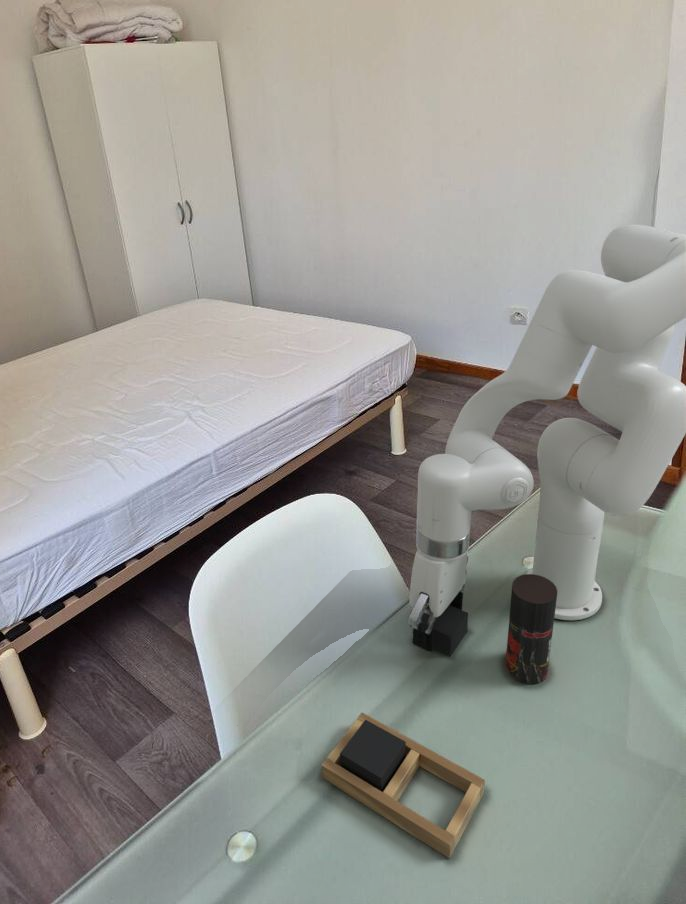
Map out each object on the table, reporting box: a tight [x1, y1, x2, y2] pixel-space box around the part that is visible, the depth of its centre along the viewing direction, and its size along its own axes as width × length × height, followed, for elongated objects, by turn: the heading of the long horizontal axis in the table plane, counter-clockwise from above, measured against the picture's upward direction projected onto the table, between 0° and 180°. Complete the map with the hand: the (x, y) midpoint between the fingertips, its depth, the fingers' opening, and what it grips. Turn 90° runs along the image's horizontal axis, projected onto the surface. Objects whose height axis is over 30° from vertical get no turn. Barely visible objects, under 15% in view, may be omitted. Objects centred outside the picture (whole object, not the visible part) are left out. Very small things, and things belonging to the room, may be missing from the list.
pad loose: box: [421, 604, 469, 657], centre depth 106 cm, size 6×6×4 cm
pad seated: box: [340, 720, 406, 792], centre depth 87 cm, size 6×6×4 cm
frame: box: [321, 712, 486, 859], centre depth 85 cm, size 9×18×2 cm, turn 53°
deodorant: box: [504, 573, 557, 686], centre depth 97 cm, size 6×6×15 cm
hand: (437, 627), depth 106 cm, fingers open, 9 cm apart
